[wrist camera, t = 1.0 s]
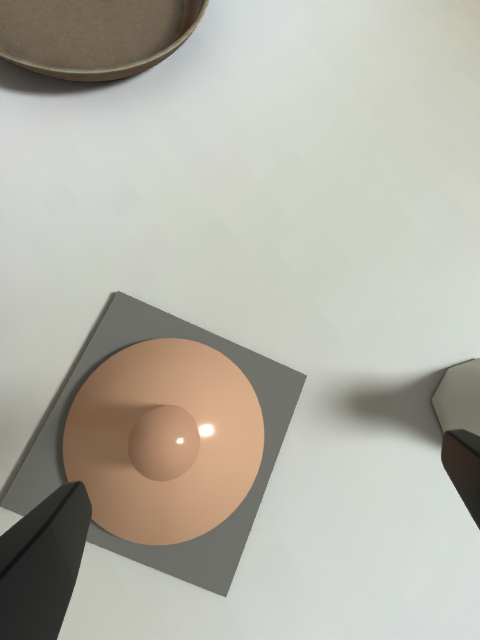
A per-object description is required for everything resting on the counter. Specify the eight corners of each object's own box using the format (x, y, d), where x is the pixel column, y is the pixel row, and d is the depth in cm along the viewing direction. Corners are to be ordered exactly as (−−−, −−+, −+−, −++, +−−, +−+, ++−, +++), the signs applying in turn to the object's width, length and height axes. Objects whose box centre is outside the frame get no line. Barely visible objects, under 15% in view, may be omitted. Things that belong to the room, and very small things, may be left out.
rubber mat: (225, 593, 21) (225, 597, 20) (3, 503, 20) (-1, 505, 19) (304, 375, 24) (306, 375, 24) (119, 292, 23) (117, 290, 23)
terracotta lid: (217, 572, 20) (225, 616, 16) (26, 495, 20) (-16, 520, 16) (288, 382, 23) (309, 380, 19) (124, 310, 23) (111, 292, 19)
